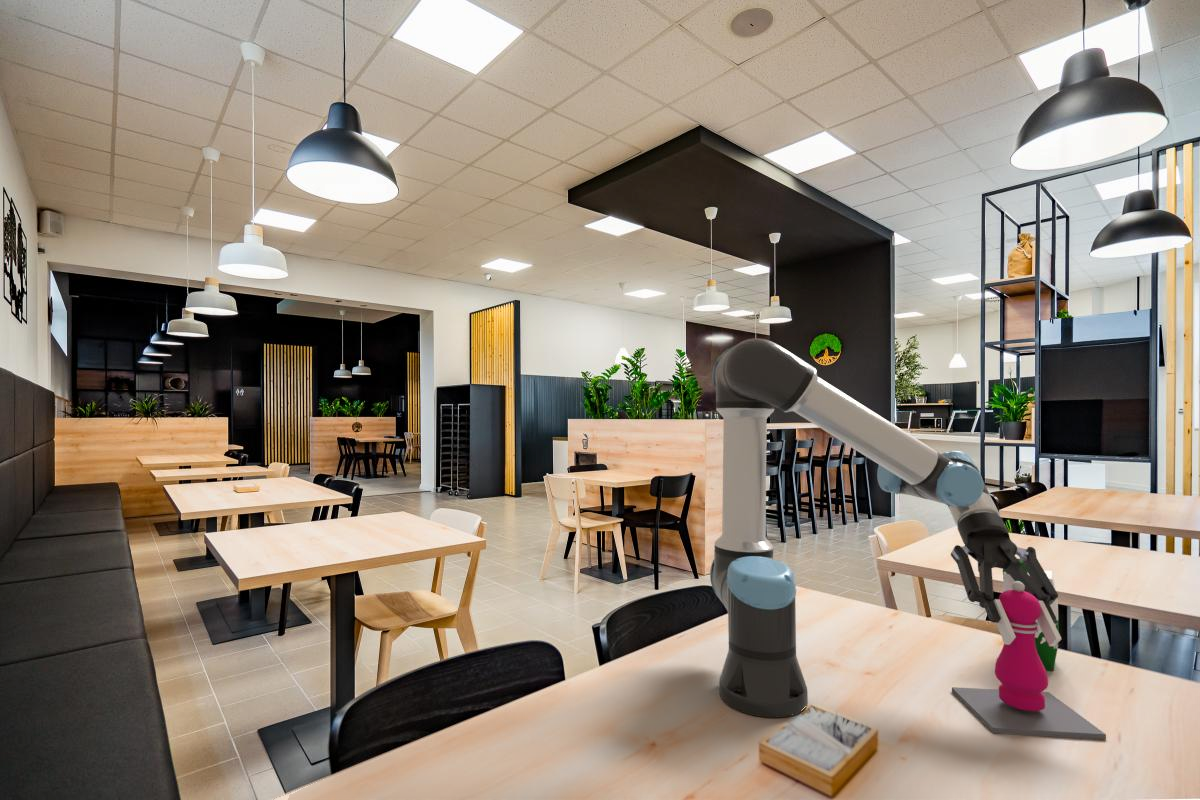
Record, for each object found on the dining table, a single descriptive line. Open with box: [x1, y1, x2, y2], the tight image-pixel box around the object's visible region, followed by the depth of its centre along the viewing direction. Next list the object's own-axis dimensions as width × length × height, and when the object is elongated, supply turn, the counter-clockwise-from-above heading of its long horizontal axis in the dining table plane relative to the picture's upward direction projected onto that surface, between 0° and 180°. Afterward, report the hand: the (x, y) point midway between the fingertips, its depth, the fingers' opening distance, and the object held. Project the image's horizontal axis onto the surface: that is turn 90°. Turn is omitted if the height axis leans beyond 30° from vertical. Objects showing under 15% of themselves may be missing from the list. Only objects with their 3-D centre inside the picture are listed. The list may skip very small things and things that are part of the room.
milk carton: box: [1002, 558, 1060, 672], centre depth 119 cm, size 9×9×20 cm
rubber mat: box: [951, 686, 1107, 740], centre depth 97 cm, size 16×14×1 cm
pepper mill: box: [994, 581, 1049, 711], centre depth 98 cm, size 7×7×20 cm
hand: (1032, 641), depth 94 cm, fingers closed on pepper mill, 6 cm apart
